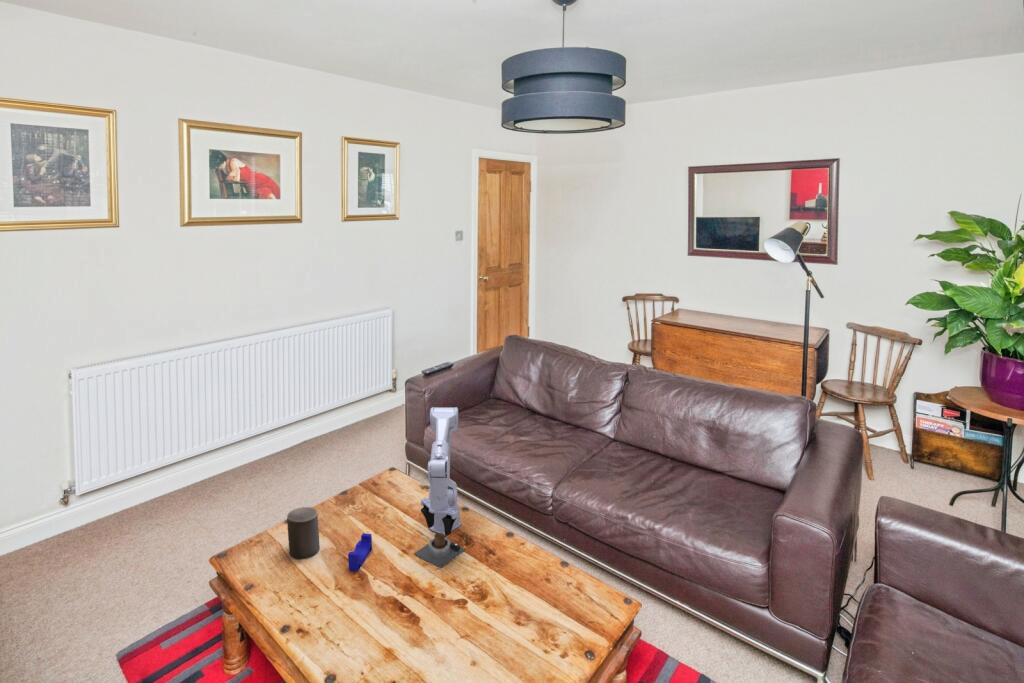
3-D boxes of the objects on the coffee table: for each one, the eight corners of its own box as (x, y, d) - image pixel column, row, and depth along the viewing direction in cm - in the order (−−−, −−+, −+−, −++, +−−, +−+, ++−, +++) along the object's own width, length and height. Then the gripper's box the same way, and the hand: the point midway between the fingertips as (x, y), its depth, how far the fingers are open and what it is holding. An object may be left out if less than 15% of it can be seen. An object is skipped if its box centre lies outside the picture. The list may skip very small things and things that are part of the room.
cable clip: (359, 548, 200) (358, 532, 198) (372, 549, 199) (371, 534, 197) (344, 570, 188) (343, 553, 187) (357, 571, 187) (357, 555, 186)
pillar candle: (291, 562, 191) (288, 521, 188) (287, 546, 200) (284, 506, 196) (322, 554, 196) (320, 514, 192) (317, 539, 204) (314, 500, 200)
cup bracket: (438, 538, 206) (438, 529, 205) (464, 550, 199) (464, 541, 198) (414, 554, 196) (413, 545, 195) (441, 568, 190) (440, 558, 189)
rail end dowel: (439, 546, 200) (439, 531, 198) (447, 551, 198) (447, 535, 196) (432, 551, 197) (432, 535, 196) (439, 555, 195) (439, 540, 193)
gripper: (414, 491, 193) (415, 528, 196) (447, 505, 185) (447, 543, 188) (428, 483, 199) (429, 519, 202) (461, 496, 191) (462, 533, 194)
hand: (439, 530), depth 196 cm, fingers open, 7 cm apart
